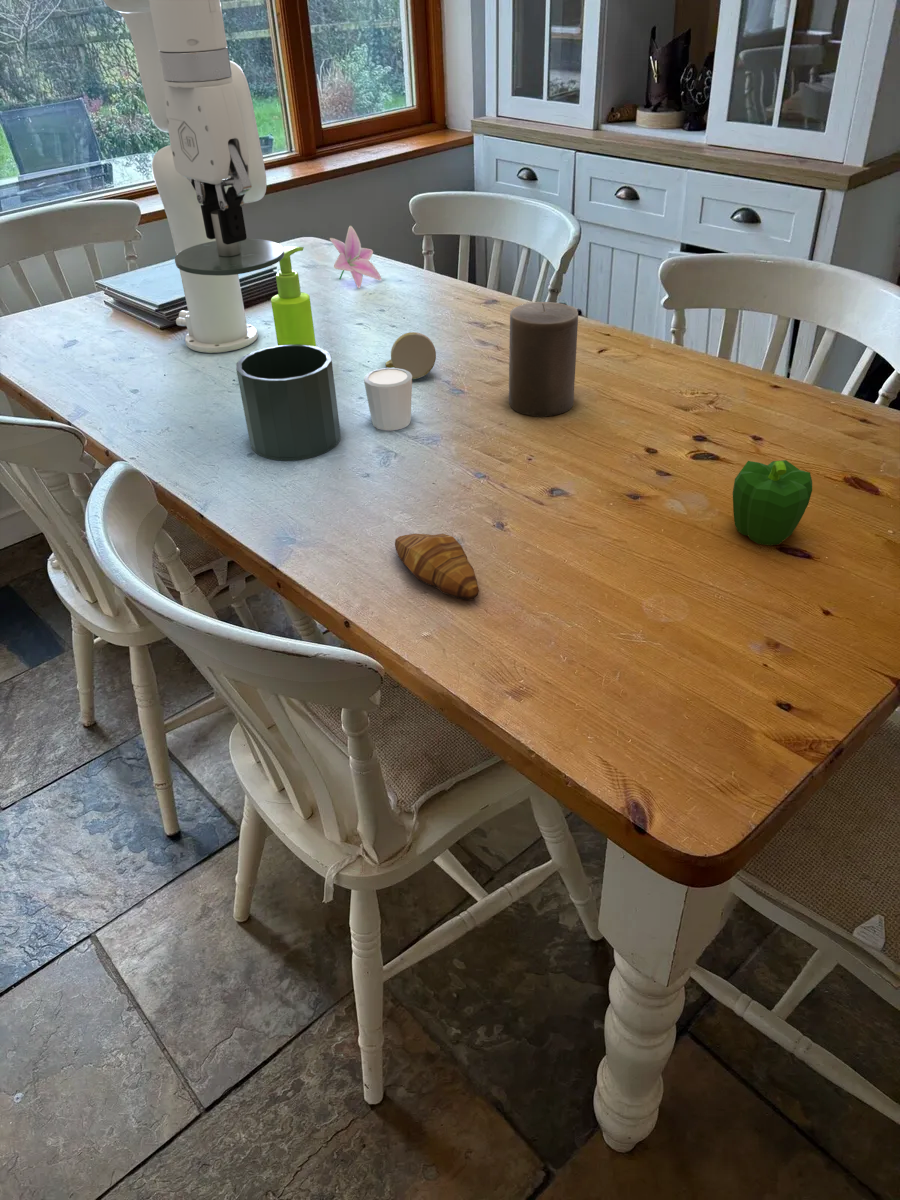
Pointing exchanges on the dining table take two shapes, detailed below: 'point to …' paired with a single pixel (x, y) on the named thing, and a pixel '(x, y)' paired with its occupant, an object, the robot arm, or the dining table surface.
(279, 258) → the lid
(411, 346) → the mug
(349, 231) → the lily
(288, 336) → the soap dispenser
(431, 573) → the croissant
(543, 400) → the pillar candle
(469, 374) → the dining table surface
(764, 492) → the bell pepper
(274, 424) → the canister
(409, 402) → the white cup
